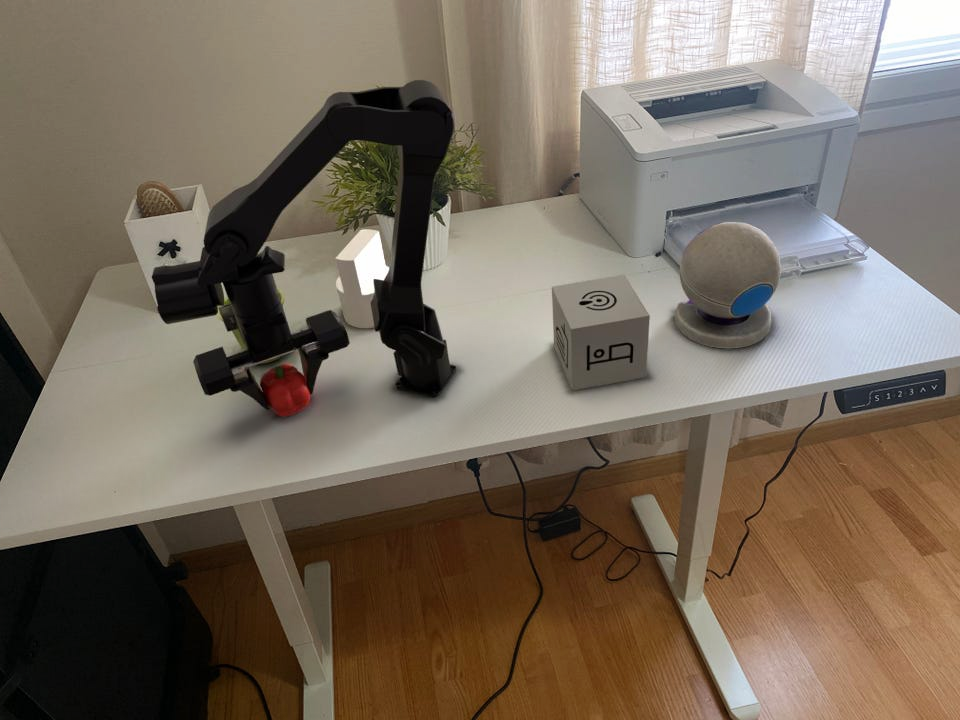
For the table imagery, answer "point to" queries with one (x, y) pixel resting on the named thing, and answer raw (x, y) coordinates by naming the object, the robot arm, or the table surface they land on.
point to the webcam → (728, 285)
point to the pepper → (285, 390)
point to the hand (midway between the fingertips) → (289, 400)
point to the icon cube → (600, 331)
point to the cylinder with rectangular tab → (360, 277)
